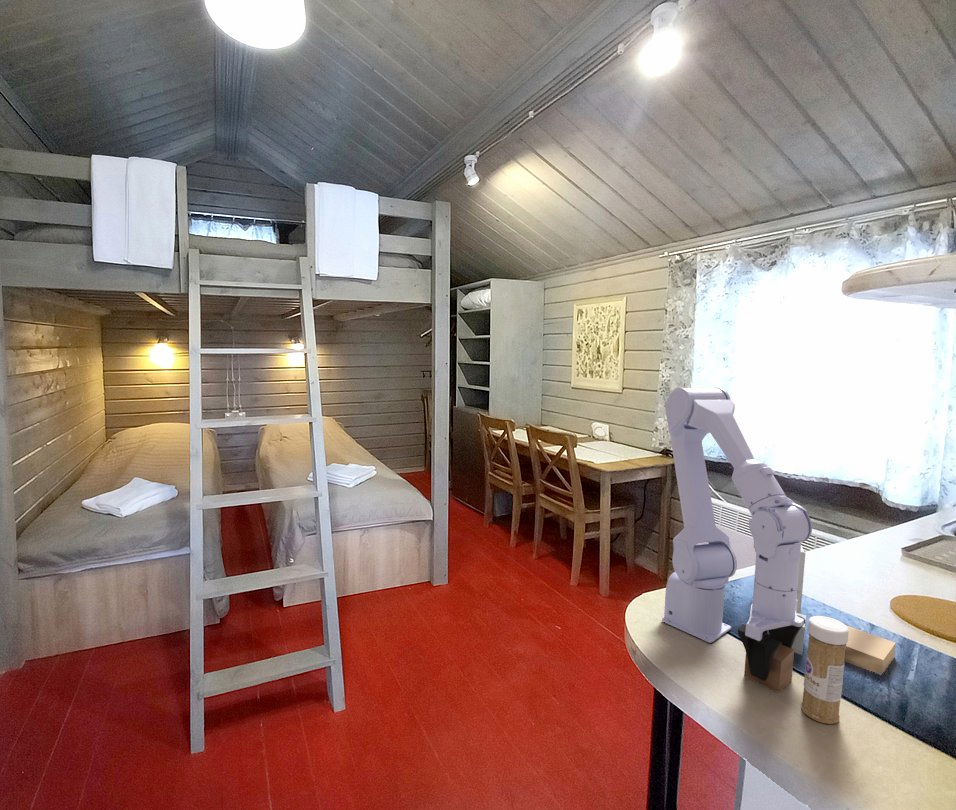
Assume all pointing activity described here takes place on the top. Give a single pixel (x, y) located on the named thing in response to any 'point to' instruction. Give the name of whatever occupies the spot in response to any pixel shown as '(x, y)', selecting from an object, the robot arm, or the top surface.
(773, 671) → the walnut cube
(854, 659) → the oak base block
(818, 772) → the top surface
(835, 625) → the toothpick jar
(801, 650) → the light grey cube
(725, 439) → the robot arm
